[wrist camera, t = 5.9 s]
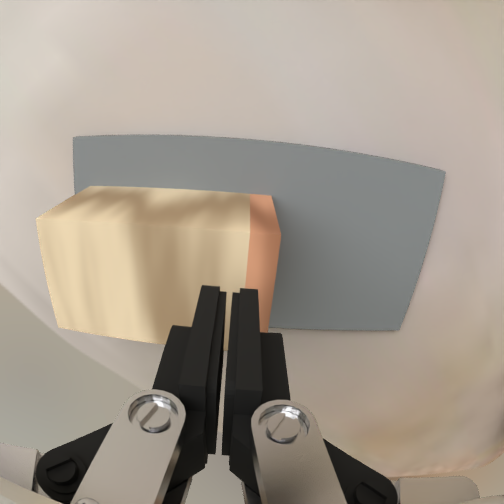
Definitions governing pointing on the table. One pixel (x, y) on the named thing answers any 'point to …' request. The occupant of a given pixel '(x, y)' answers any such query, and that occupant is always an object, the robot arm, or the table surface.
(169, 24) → the table surface
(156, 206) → the maple block
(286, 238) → the mat
